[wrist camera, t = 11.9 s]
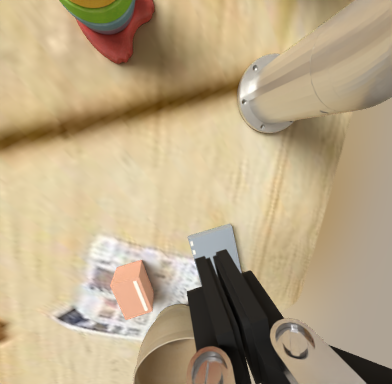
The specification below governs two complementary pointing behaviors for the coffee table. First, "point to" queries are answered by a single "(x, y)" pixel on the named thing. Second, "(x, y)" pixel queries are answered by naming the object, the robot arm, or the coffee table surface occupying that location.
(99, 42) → the stacking bear
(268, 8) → the coffee table surface
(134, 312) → the peach rectangular block
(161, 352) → the planter bowl
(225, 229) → the board
